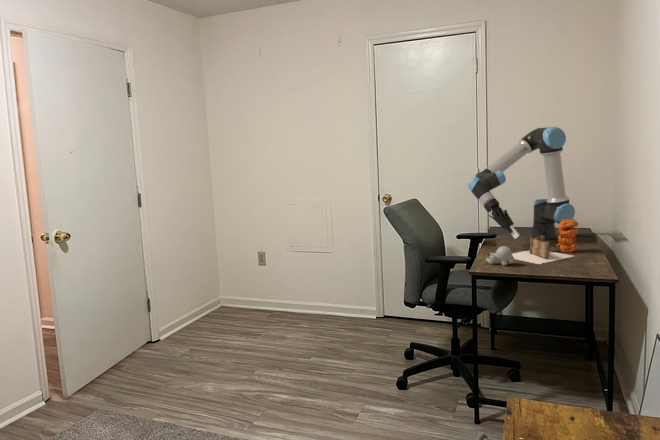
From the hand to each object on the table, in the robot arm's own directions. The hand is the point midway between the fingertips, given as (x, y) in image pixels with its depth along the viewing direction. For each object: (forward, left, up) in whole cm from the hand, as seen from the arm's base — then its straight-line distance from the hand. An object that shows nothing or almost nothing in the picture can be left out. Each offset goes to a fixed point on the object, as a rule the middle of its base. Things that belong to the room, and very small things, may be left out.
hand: (517, 236), depth 257 cm
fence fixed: (+6, +8, -8) cm, 13 cm away
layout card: (+11, +1, -8) cm, 14 cm away
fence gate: (+13, 0, -7) cm, 15 cm away
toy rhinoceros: (+11, -26, -9) cm, 30 cm away
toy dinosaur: (+13, +23, -9) cm, 28 cm away
